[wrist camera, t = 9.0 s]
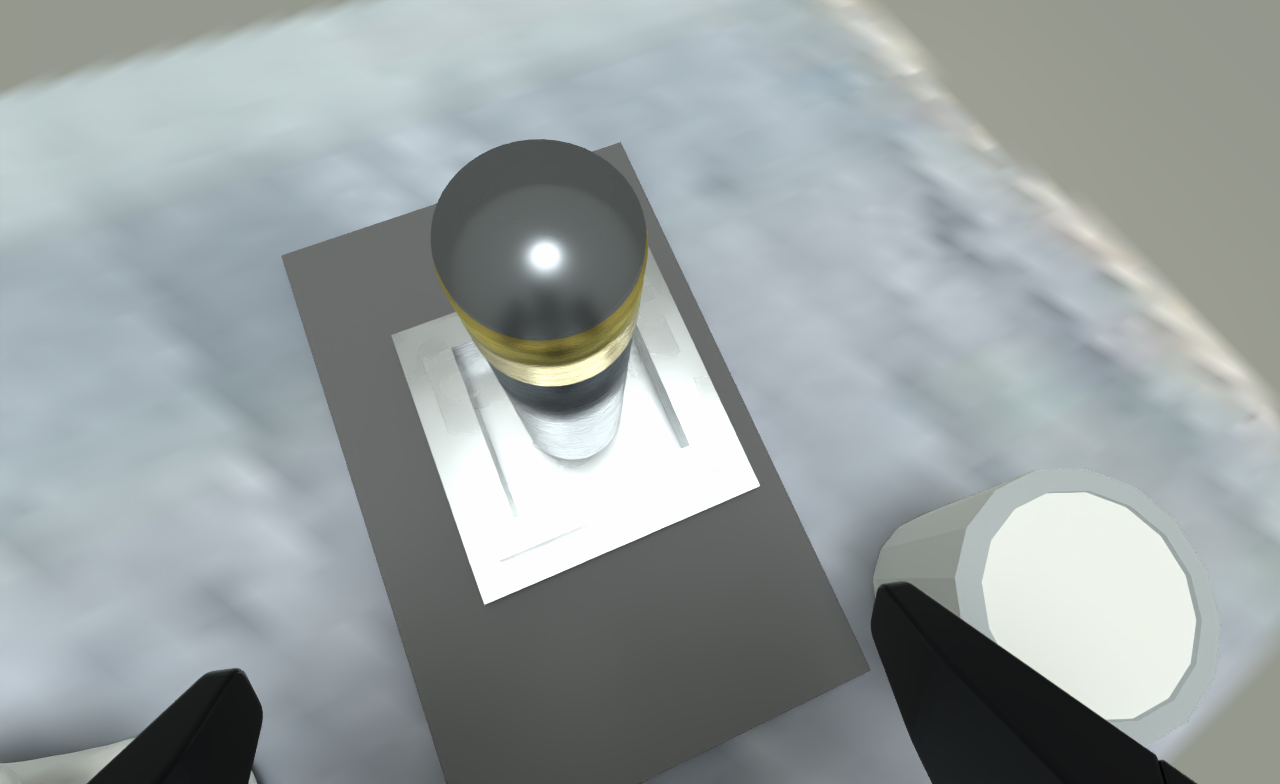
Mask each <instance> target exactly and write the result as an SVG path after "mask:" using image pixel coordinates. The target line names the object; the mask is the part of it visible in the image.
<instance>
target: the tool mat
mask: <svg viewBox="0 0 1280 784" xmlns="http://www.w3.org/2000/svg"><path fill="white" fill-rule="evenodd" d="M593 153H595V154H597V155H598V156H600V157H601V158H603V159H605V160H606V161H607V162H609V163H610V164H611V165H612V166H614V167H615V168H616V169H617V170H618V171H619V172H620V173H621V174H622V175H623V176H624V177H625V179H626V180H627V181H628V183H629V184H630V185H631V187H632V188H633V190H634V192H635V194H636V196H637V197H638V199H639V202H640V205H641V207H642V210H643V214H644V218H645V223H646V228H647V233H648V246H649V248H650V250H651V253H652V255H653V257H654V259H655V261H656V263H657V266H658V268H659V270H660V272H661V274H662V276H663V278H664V281H665V283H666V285H667V287H668V289H669V291H670V293H671V296H672V298H673V300H674V302H675V304H676V306H677V309H678V311H679V313H680V315H681V317H682V319H683V321H684V324H685V326H686V328H687V330H688V332H689V334H690V336H691V339H692V341H693V343H694V345H695V347H696V349H697V351H698V354H699V356H700V358H701V360H702V362H703V364H704V367H705V369H706V371H707V373H708V375H709V377H710V379H711V382H712V384H713V386H714V388H715V390H716V392H717V394H718V397H719V399H720V401H721V403H722V405H723V407H724V410H725V412H726V414H727V416H728V418H729V420H730V422H731V425H732V427H733V429H734V431H735V433H736V435H737V437H738V440H739V442H740V444H741V446H742V448H743V450H744V453H745V455H746V457H747V459H748V461H749V463H750V465H751V468H752V470H753V472H754V474H755V476H756V478H757V480H758V483H759V485H760V486H759V487H757V488H755V489H753V490H751V491H748V492H746V493H744V494H741V495H739V496H737V497H734V498H732V499H730V500H727V501H725V502H723V503H720V504H718V505H716V506H714V507H711V508H709V509H707V510H704V511H702V512H700V513H697V514H695V515H693V516H690V517H688V518H686V519H683V520H681V521H679V522H676V523H674V524H672V525H669V526H667V527H665V528H663V529H660V530H658V531H656V532H653V533H651V534H649V535H646V536H644V537H642V538H639V539H637V540H635V541H632V542H630V543H628V544H625V545H623V546H621V547H618V548H616V549H614V550H612V551H609V552H607V553H605V554H602V555H600V556H598V557H595V558H593V559H591V560H588V561H586V562H584V563H581V564H579V565H577V566H574V567H572V568H570V569H567V570H565V571H563V572H561V573H558V574H556V575H554V576H551V577H549V578H547V579H544V580H542V581H540V582H537V583H535V584H533V585H530V586H528V587H526V588H523V589H521V590H519V591H516V592H514V593H512V594H510V595H507V596H505V597H503V598H500V599H498V600H496V601H493V602H491V603H489V604H485V605H484V602H483V599H482V596H481V593H480V590H479V587H478V584H477V582H476V579H475V576H474V573H473V570H472V567H471V564H470V561H469V559H468V556H467V553H466V550H465V547H464V544H463V541H462V538H461V535H460V533H459V530H458V527H457V524H456V521H455V518H454V515H453V512H452V509H451V507H450V504H449V501H448V498H447V495H446V492H445V489H444V486H443V484H442V481H441V478H440V475H439V472H438V469H437V466H436V463H435V460H434V458H433V455H432V452H431V449H430V446H429V443H428V440H427V437H426V434H425V432H424V429H423V426H422V423H421V420H420V417H419V414H418V411H417V409H416V406H415V403H414V400H413V397H412V394H411V391H410V388H409V385H408V383H407V380H406V377H405V374H404V371H403V368H402V365H401V362H400V360H399V357H398V354H397V351H396V348H395V345H394V342H393V339H392V336H391V335H393V334H396V333H399V332H401V331H404V330H407V329H410V328H412V327H415V326H418V325H421V324H424V323H426V322H429V321H432V320H435V319H437V318H440V317H443V316H446V315H449V314H451V313H454V312H456V311H455V309H454V308H453V306H452V304H451V303H450V301H449V299H448V297H447V296H446V294H445V292H444V291H443V289H442V287H441V284H440V282H439V280H438V278H437V274H436V271H435V267H434V263H433V257H432V250H431V243H430V239H431V225H432V219H433V215H434V211H435V208H436V205H437V204H435V205H432V206H429V207H426V208H423V209H420V210H417V211H414V212H411V213H408V214H405V215H402V216H399V217H396V218H393V219H390V220H387V221H384V222H381V223H378V224H375V225H372V226H369V227H366V228H363V229H360V230H357V231H354V232H351V233H348V234H345V235H342V236H339V237H336V238H333V239H330V240H327V241H324V242H321V243H318V244H315V245H312V246H309V247H306V248H303V249H300V250H297V251H294V252H291V253H288V254H285V255H282V259H283V262H284V266H285V269H286V272H287V275H288V278H289V282H290V285H291V288H292V291H293V294H294V298H295V301H296V304H297V307H298V310H299V314H300V317H301V320H302V323H303V326H304V329H305V333H306V336H307V339H308V342H309V345H310V349H311V352H312V355H313V358H314V361H315V365H316V368H317V371H318V374H319V377H320V381H321V384H322V387H323V390H324V393H325V397H326V400H327V403H328V406H329V409H330V413H331V416H332V419H333V422H334V425H335V428H336V432H337V435H338V438H339V441H340V444H341V448H342V451H343V454H344V457H345V460H346V464H347V467H348V470H349V473H350V476H351V480H352V483H353V486H354V489H355V492H356V496H357V499H358V502H359V505H360V508H361V511H362V515H363V518H364V521H365V524H366V527H367V531H368V534H369V537H370V540H371V543H372V547H373V550H374V553H375V556H376V559H377V563H378V566H379V569H380V572H381V575H382V579H383V582H384V585H385V588H386V591H387V595H388V598H389V601H390V604H391V607H392V610H393V614H394V617H395V620H396V623H397V626H398V630H399V633H400V636H401V639H402V642H403V646H404V649H405V652H406V655H407V658H408V662H409V665H410V668H411V671H412V674H413V678H414V681H415V684H416V687H417V690H418V694H419V697H420V700H421V703H422V706H423V709H424V713H425V716H426V719H427V722H428V725H429V729H430V732H431V735H432V738H433V741H434V745H435V748H436V751H437V754H438V757H439V761H440V764H441V767H442V770H443V773H444V777H445V780H446V783H447V784H640V783H642V782H644V781H646V780H648V779H650V778H652V777H654V776H656V775H658V774H660V773H662V772H664V771H666V770H668V769H670V768H672V767H674V766H676V765H678V764H680V763H682V762H684V761H686V760H689V759H691V758H693V757H695V756H697V755H699V754H701V753H703V752H705V751H707V750H709V749H711V748H713V747H715V746H717V745H719V744H721V743H723V742H725V741H727V740H729V739H731V738H733V737H735V736H737V735H739V734H742V733H744V732H746V731H748V730H750V729H752V728H754V727H756V726H758V725H760V724H762V723H764V722H766V721H768V720H770V719H772V718H774V717H776V716H778V715H780V714H782V713H784V712H786V711H788V710H790V709H792V708H795V707H797V706H799V705H801V704H803V703H805V702H807V701H809V700H811V699H813V698H815V697H817V696H819V695H821V694H823V693H825V692H827V691H829V690H831V689H833V688H835V687H837V686H839V685H841V684H843V683H845V682H848V681H850V680H852V679H854V678H856V677H858V676H860V675H862V674H864V673H866V672H868V671H870V670H871V669H870V667H869V665H868V663H867V661H866V659H865V657H864V654H863V652H862V650H861V648H860V646H859V644H858V642H857V640H856V638H855V635H854V633H853V631H852V629H851V627H850V625H849V623H848V621H847V619H846V617H845V614H844V612H843V610H842V608H841V606H840V604H839V602H838V600H837V598H836V595H835V593H834V591H833V589H832V587H831V585H830V583H829V581H828V579H827V576H826V574H825V572H824V570H823V568H822V566H821V564H820V562H819V560H818V557H817V555H816V553H815V551H814V549H813V547H812V545H811V543H810V541H809V538H808V536H807V534H806V532H805V530H804V528H803V526H802V524H801V522H800V519H799V517H798V515H797V513H796V511H795V509H794V507H793V505H792V503H791V500H790V498H789V496H788V494H787V492H786V490H785V488H784V486H783V484H782V482H781V479H780V477H779V475H778V473H777V471H776V469H775V467H774V465H773V463H772V460H771V458H770V456H769V454H768V452H767V450H766V448H765V446H764V444H763V441H762V439H761V437H760V435H759V433H758V431H757V429H756V427H755V425H754V422H753V420H752V418H751V416H750V414H749V412H748V410H747V408H746V406H745V403H744V401H743V399H742V397H741V395H740V393H739V391H738V389H737V387H736V384H735V382H734V380H733V378H732V376H731V374H730V372H729V370H728V368H727V366H726V363H725V361H724V359H723V357H722V355H721V353H720V351H719V349H718V347H717V344H716V342H715V340H714V338H713V336H712V334H711V332H710V330H709V328H708V325H707V323H706V321H705V319H704V317H703V315H702V313H701V311H700V309H699V306H698V304H697V302H696V300H695V298H694V296H693V294H692V292H691V290H690V287H689V285H688V283H687V281H686V279H685V277H684V275H683V273H682V271H681V268H680V266H679V264H678V262H677V260H676V258H675V256H674V254H673V252H672V249H671V247H670V245H669V243H668V241H667V239H666V237H665V235H664V233H663V231H662V228H661V226H660V224H659V222H658V220H657V218H656V216H655V214H654V212H653V209H652V207H651V205H650V203H649V201H648V199H647V197H646V195H645V193H644V190H643V188H642V186H641V184H640V182H639V180H638V178H637V176H636V174H635V171H634V169H633V167H632V165H631V163H630V161H629V159H628V157H627V155H626V152H625V150H624V148H623V146H622V144H621V142H620V143H617V144H614V145H611V146H608V147H605V148H602V149H599V150H596V151H593Z"/></svg>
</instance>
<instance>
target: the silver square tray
mask: <svg viewBox="0 0 1280 784" xmlns="http://www.w3.org/2000/svg"><path fill="white" fill-rule="evenodd" d="M391 336H392V339H393V342H394V345H395V348H396V351H397V354H398V357H399V360H400V362H401V365H402V368H403V371H404V374H405V377H406V380H407V383H408V385H409V388H410V391H411V394H412V397H413V400H414V403H415V406H416V409H417V411H418V414H419V417H420V420H421V423H422V426H423V429H424V432H425V434H426V437H427V440H428V443H429V446H430V449H431V452H432V455H433V458H434V460H435V463H436V466H437V469H438V472H439V475H440V478H441V481H442V484H443V486H444V489H445V492H446V495H447V498H448V501H449V504H450V507H451V509H452V512H453V515H454V518H455V521H456V524H457V527H458V530H459V533H460V535H461V538H462V541H463V544H464V547H465V550H466V553H467V556H468V559H469V561H470V564H471V567H472V570H473V573H474V576H475V579H476V582H477V584H478V587H479V590H480V593H481V596H482V599H483V602H484V605H485V604H489V603H491V602H493V601H496V600H498V599H500V598H503V597H505V596H507V595H510V594H512V593H514V592H516V591H519V590H521V589H523V588H526V587H528V586H530V585H533V584H535V583H537V582H540V581H542V580H544V579H547V578H549V577H551V576H554V575H556V574H558V573H561V572H563V571H565V570H567V569H570V568H572V567H574V566H577V565H579V564H581V563H584V562H586V561H588V560H591V559H593V558H595V557H598V556H600V555H602V554H605V553H607V552H609V551H612V550H614V549H616V548H618V547H621V546H623V545H625V544H628V543H630V542H632V541H635V540H637V539H639V538H642V537H644V536H646V535H649V534H651V533H653V532H656V531H658V530H660V529H663V528H665V527H667V526H669V525H672V524H674V523H676V522H679V521H681V520H683V519H686V518H688V517H690V516H693V515H695V514H697V513H700V512H702V511H704V510H707V509H709V508H711V507H714V506H716V505H718V504H720V503H723V502H725V501H727V500H730V499H732V498H734V497H737V496H739V495H741V494H744V493H746V492H748V491H751V490H753V489H755V488H757V487H759V486H760V485H759V483H758V480H757V478H756V476H755V474H754V472H753V470H752V468H751V465H750V463H749V461H748V459H747V457H746V455H745V453H744V450H743V448H742V446H741V444H740V442H739V440H738V437H737V435H736V433H735V431H734V429H733V427H732V425H731V422H730V420H729V418H728V416H727V414H726V412H725V410H724V407H723V405H722V403H721V401H720V399H719V397H718V394H717V392H716V390H715V388H714V386H713V384H712V382H711V379H710V377H709V375H708V373H707V371H706V369H705V367H704V364H703V362H702V360H701V358H700V356H699V354H698V351H697V349H696V347H695V345H694V343H693V341H692V339H691V336H690V334H689V332H688V330H687V328H686V326H685V324H684V321H683V319H682V317H681V315H680V313H679V311H678V309H677V306H676V304H675V302H674V300H673V298H672V296H671V293H670V291H669V289H668V287H667V285H666V283H665V281H664V278H663V276H662V274H661V272H660V270H659V268H658V266H657V263H656V261H655V259H654V257H653V255H652V253H651V250H650V248H649V246H648V257H647V264H646V270H645V276H644V283H643V289H642V295H641V302H640V308H639V314H638V319H637V324H636V327H635V330H634V333H633V338H632V344H631V351H630V358H629V364H628V371H627V378H626V385H625V391H624V398H623V405H622V411H621V418H620V423H619V426H618V429H617V432H616V434H615V435H614V437H613V439H612V440H611V441H610V442H609V444H608V445H607V446H606V447H604V448H603V449H602V450H601V451H599V452H598V453H596V454H594V455H592V456H590V457H587V458H583V459H578V460H567V459H561V458H557V457H554V456H552V455H550V454H548V453H546V452H544V451H543V450H542V449H540V448H539V447H538V446H537V445H536V444H535V443H534V441H533V440H532V438H531V437H530V435H529V434H528V432H527V430H526V428H525V427H524V425H523V423H522V421H521V420H520V418H519V416H518V414H517V412H516V411H515V409H514V407H513V405H512V404H511V402H510V400H509V398H508V397H507V395H506V393H505V391H504V390H503V388H502V386H501V384H500V383H499V381H498V379H497V377H496V376H495V374H494V372H493V370H492V369H491V367H490V365H489V363H488V362H487V360H486V359H485V357H484V356H483V355H482V354H481V353H480V352H479V350H478V348H477V347H476V345H475V344H474V342H473V340H472V339H471V337H470V335H469V334H468V332H467V330H466V328H465V327H464V325H463V323H462V322H461V320H460V318H459V316H458V315H457V313H456V312H454V313H451V314H449V315H446V316H443V317H440V318H437V319H435V320H432V321H429V322H426V323H424V324H421V325H418V326H415V327H412V328H410V329H407V330H404V331H401V332H399V333H396V334H393V335H391Z"/></svg>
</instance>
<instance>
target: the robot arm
mask: <svg viewBox="0 0 1280 784" xmlns="http://www.w3.org/2000/svg"><path fill="white" fill-rule="evenodd" d="M871 631H872V636H873V639H874V642H875V645H876V647H877V650H878V653H879V656H880V658H881V661H882V664H883V666H884V669H885V672H886V674H887V677H888V680H889V683H890V685H891V688H892V691H893V693H894V696H895V699H896V701H897V704H898V707H899V710H900V712H901V715H902V718H903V720H904V723H905V725H906V728H907V731H908V733H909V736H910V738H911V740H912V743H913V745H914V747H915V749H916V751H917V753H918V756H919V758H920V760H921V762H922V764H923V766H924V768H925V770H926V772H927V774H928V776H929V778H930V780H931V782H932V784H1197V783H1195V782H1194V781H1193V780H1191V779H1190V778H1188V777H1187V776H1186V775H1184V774H1183V773H1181V772H1180V771H1178V770H1177V769H1176V768H1174V767H1172V766H1171V765H1170V764H1169V763H1167V762H1166V761H1164V760H1158V758H1157V756H1156V755H1155V754H1154V753H1152V752H1151V751H1150V750H1148V749H1147V748H1145V747H1144V746H1142V745H1141V744H1140V743H1138V742H1137V741H1135V740H1134V739H1132V738H1131V737H1130V736H1128V735H1127V734H1125V733H1124V732H1122V731H1121V730H1120V729H1118V728H1117V727H1115V726H1114V725H1112V724H1111V723H1110V722H1108V721H1107V720H1105V719H1104V718H1102V717H1101V716H1100V715H1098V714H1097V713H1095V712H1094V711H1092V710H1091V709H1090V708H1088V707H1087V706H1085V705H1084V704H1082V703H1081V702H1080V701H1078V700H1077V699H1075V698H1074V697H1073V696H1071V695H1070V694H1068V693H1067V692H1065V691H1064V690H1063V689H1061V688H1060V687H1058V686H1057V685H1055V684H1054V683H1053V682H1051V681H1050V680H1048V679H1047V678H1045V677H1044V676H1043V675H1041V674H1040V673H1038V672H1037V671H1035V670H1034V669H1033V668H1031V667H1030V666H1028V665H1027V664H1025V663H1024V662H1023V661H1021V660H1020V659H1018V658H1017V657H1015V656H1014V655H1013V654H1011V653H1010V652H1008V651H1007V650H1005V649H1004V648H1003V647H1001V646H1000V645H998V644H997V643H995V642H994V641H993V640H991V639H990V638H988V637H987V636H985V635H984V634H983V633H981V632H980V631H978V630H977V629H975V628H974V627H973V626H971V625H970V624H968V623H967V622H965V621H964V620H963V619H961V618H960V617H958V616H957V615H955V614H954V613H953V612H951V611H950V610H948V609H947V608H945V607H944V606H943V605H941V604H940V603H938V602H937V601H935V600H934V599H933V598H931V597H930V596H928V595H927V594H925V593H924V592H923V591H921V590H920V589H918V588H917V587H915V586H914V585H912V584H911V583H909V582H906V581H899V582H891V583H884V584H881V585H880V586H879V587H878V589H877V592H876V597H875V603H874V608H873V613H872V619H871ZM262 719H263V711H262V706H261V703H260V701H259V699H258V697H257V695H256V693H255V691H254V689H253V688H252V686H251V684H250V682H249V680H248V678H247V676H246V674H245V672H244V671H242V670H241V669H239V668H233V669H225V670H217V671H212V672H209V673H206V674H205V675H203V676H202V677H201V678H200V679H198V680H197V681H196V682H195V683H194V684H193V685H192V686H191V687H190V688H189V689H188V690H187V691H186V692H184V693H183V694H182V695H181V696H180V697H179V698H178V699H177V700H176V701H175V702H174V703H173V704H172V705H170V706H169V707H168V708H167V709H166V710H165V711H164V712H163V713H162V714H161V715H160V716H159V717H158V718H156V719H155V720H154V721H153V722H152V723H151V724H150V725H149V726H148V727H147V728H146V729H145V730H144V731H142V732H141V733H140V734H139V735H138V736H137V737H136V738H135V739H134V740H133V741H132V742H131V743H130V744H128V745H127V746H126V747H125V748H124V749H123V750H122V751H121V752H120V753H119V754H118V755H117V756H116V757H114V758H113V759H112V760H111V761H110V762H109V763H108V764H107V765H106V766H105V767H104V768H103V769H102V770H100V771H99V772H98V773H97V774H96V775H95V776H94V777H93V778H92V779H91V780H90V781H89V782H88V783H86V784H249V779H250V775H251V770H252V766H253V761H254V757H255V753H256V748H257V744H258V739H259V735H260V730H261V726H262Z"/></svg>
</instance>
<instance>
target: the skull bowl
mask: <svg viewBox="0 0 1280 784" xmlns="http://www.w3.org/2000/svg"><path fill="white" fill-rule="evenodd" d="M134 739H135V738H131V739H127V740H123V741H120V742H117V743H113V744H110V745H106V746H101V747H95V748H91V749H87V750H82V751H78V752H73V753H68V754H63V755H55V756H50V757H45V758H40V759H35V760H28V761H22V762H14V763H0V784H86V783H88V782H89V781H90V780H91V779H92V778H93V777H94V776H95V775H96V774H97V773H98V772H99V771H100V770H102V769H103V768H104V767H105V766H106V765H107V764H108V763H109V762H110V761H111V760H112V759H113V758H114V757H116V756H117V755H118V754H119V753H120V752H121V751H122V750H123V749H124V748H125V747H126V746H127V745H128V744H130V743H131V742H132V741H133V740H134ZM249 784H257V782H256V779H255V777H254V774H253V772H252V770H251V775H250V779H249Z"/></svg>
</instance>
